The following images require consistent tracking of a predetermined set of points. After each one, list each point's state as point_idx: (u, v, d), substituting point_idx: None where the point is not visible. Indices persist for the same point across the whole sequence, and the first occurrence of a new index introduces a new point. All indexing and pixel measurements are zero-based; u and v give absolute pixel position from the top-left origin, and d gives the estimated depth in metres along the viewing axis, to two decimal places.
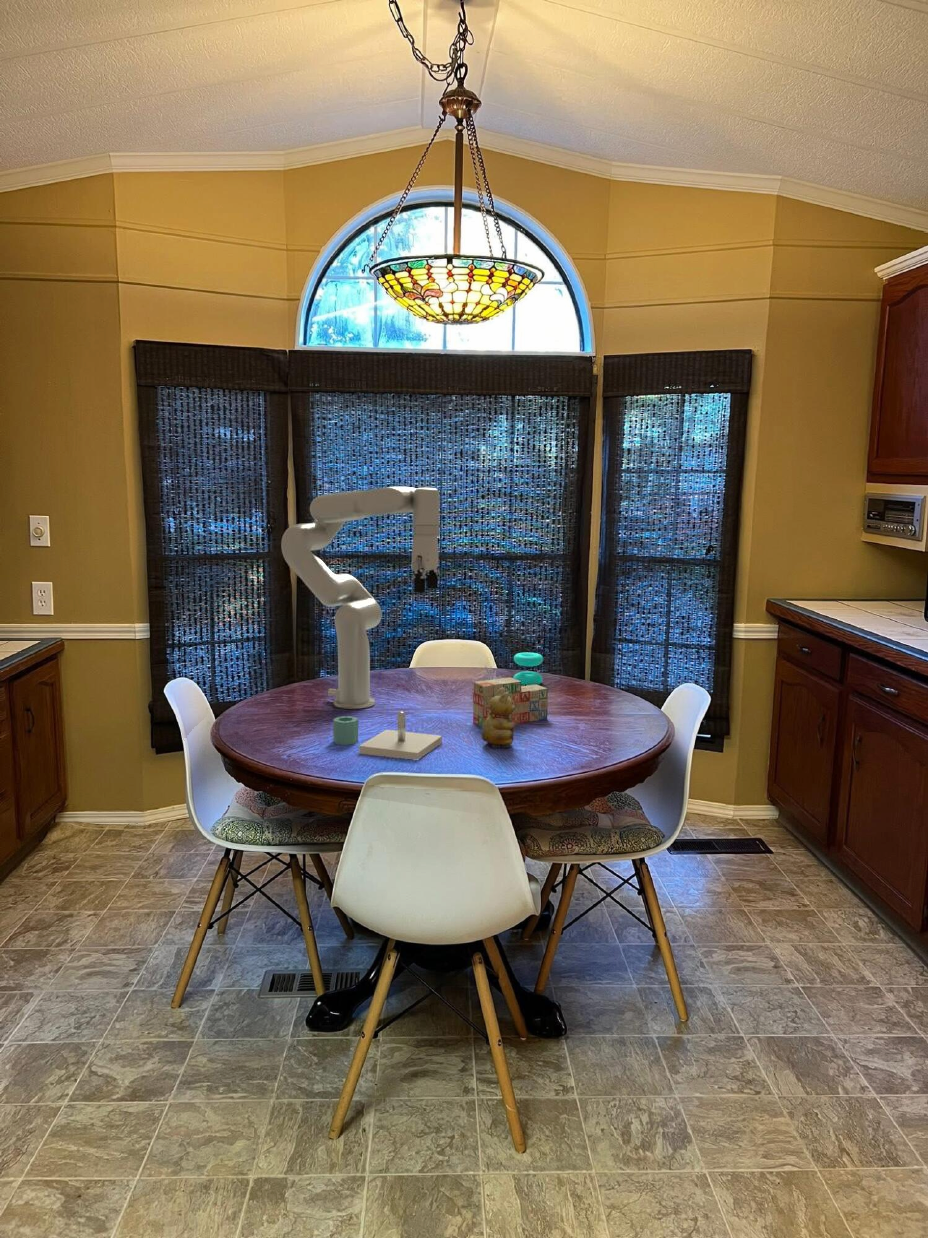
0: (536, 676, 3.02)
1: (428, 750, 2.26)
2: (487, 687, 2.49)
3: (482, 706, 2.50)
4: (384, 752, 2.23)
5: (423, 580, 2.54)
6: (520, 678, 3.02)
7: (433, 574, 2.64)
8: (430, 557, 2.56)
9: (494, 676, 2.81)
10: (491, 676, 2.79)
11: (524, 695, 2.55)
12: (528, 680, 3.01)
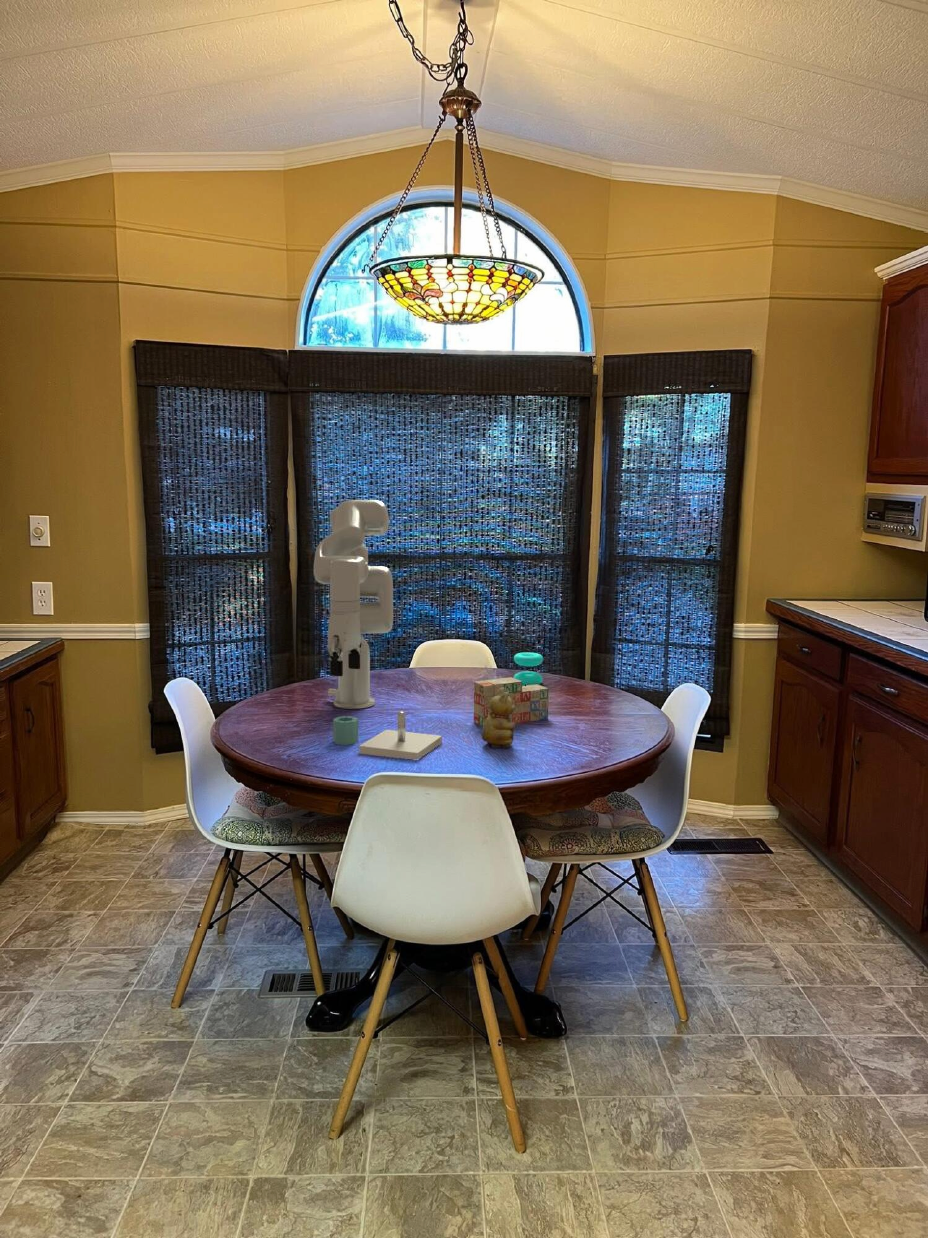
0: (536, 676, 3.02)
1: (428, 750, 2.26)
2: (488, 687, 2.49)
3: (483, 706, 2.50)
4: (384, 752, 2.23)
5: (340, 663, 2.27)
6: (520, 678, 3.02)
7: (355, 653, 2.36)
8: (349, 637, 2.28)
9: (494, 676, 2.81)
10: (491, 676, 2.79)
11: (525, 695, 2.55)
12: (528, 680, 3.01)
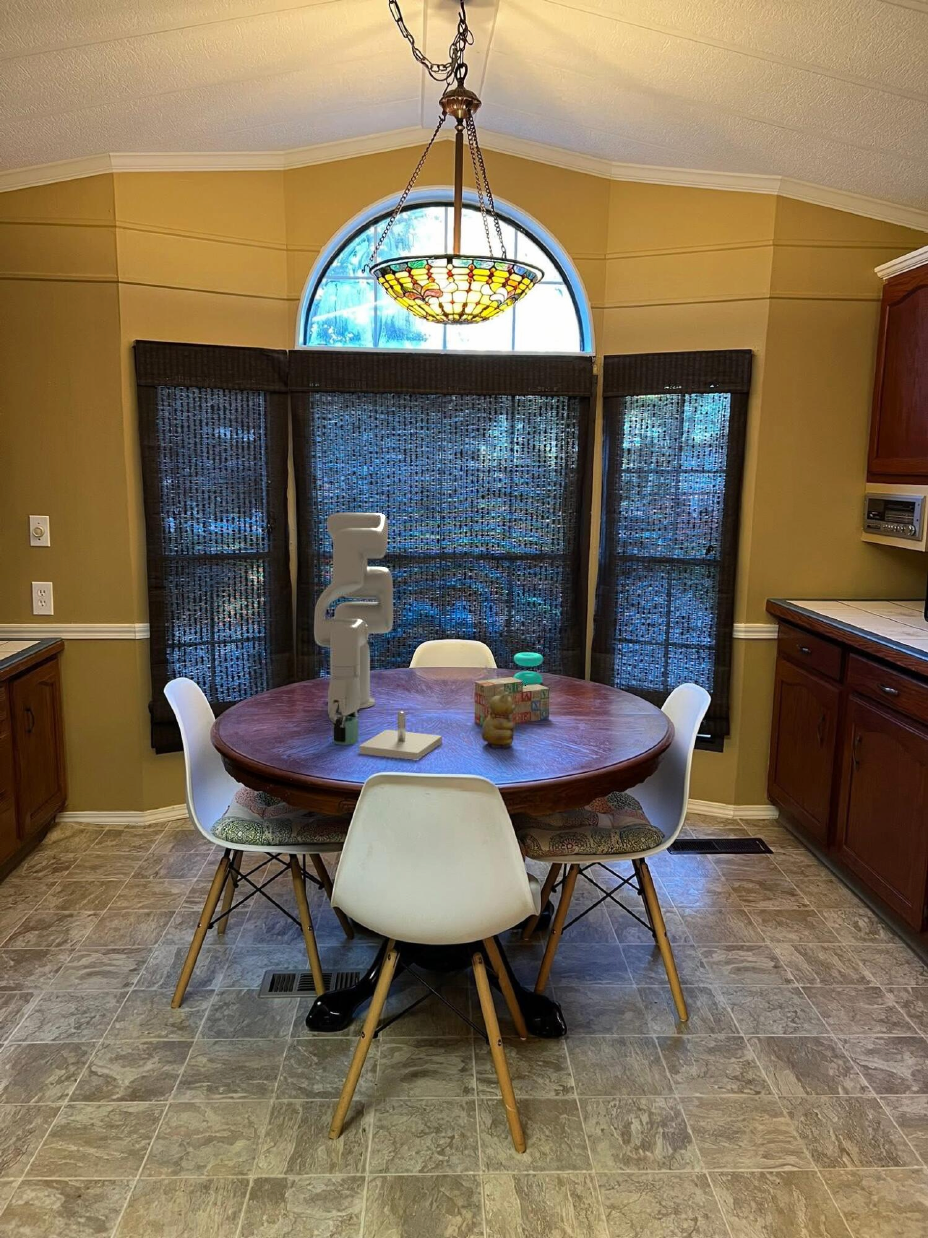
0: (536, 676, 3.02)
1: (428, 750, 2.26)
2: (488, 687, 2.49)
3: (483, 706, 2.50)
4: (384, 752, 2.23)
5: (343, 729, 2.31)
6: (520, 678, 3.02)
7: None
8: (349, 701, 2.31)
9: (494, 676, 2.81)
10: (491, 676, 2.80)
11: (525, 695, 2.55)
12: (528, 680, 3.01)
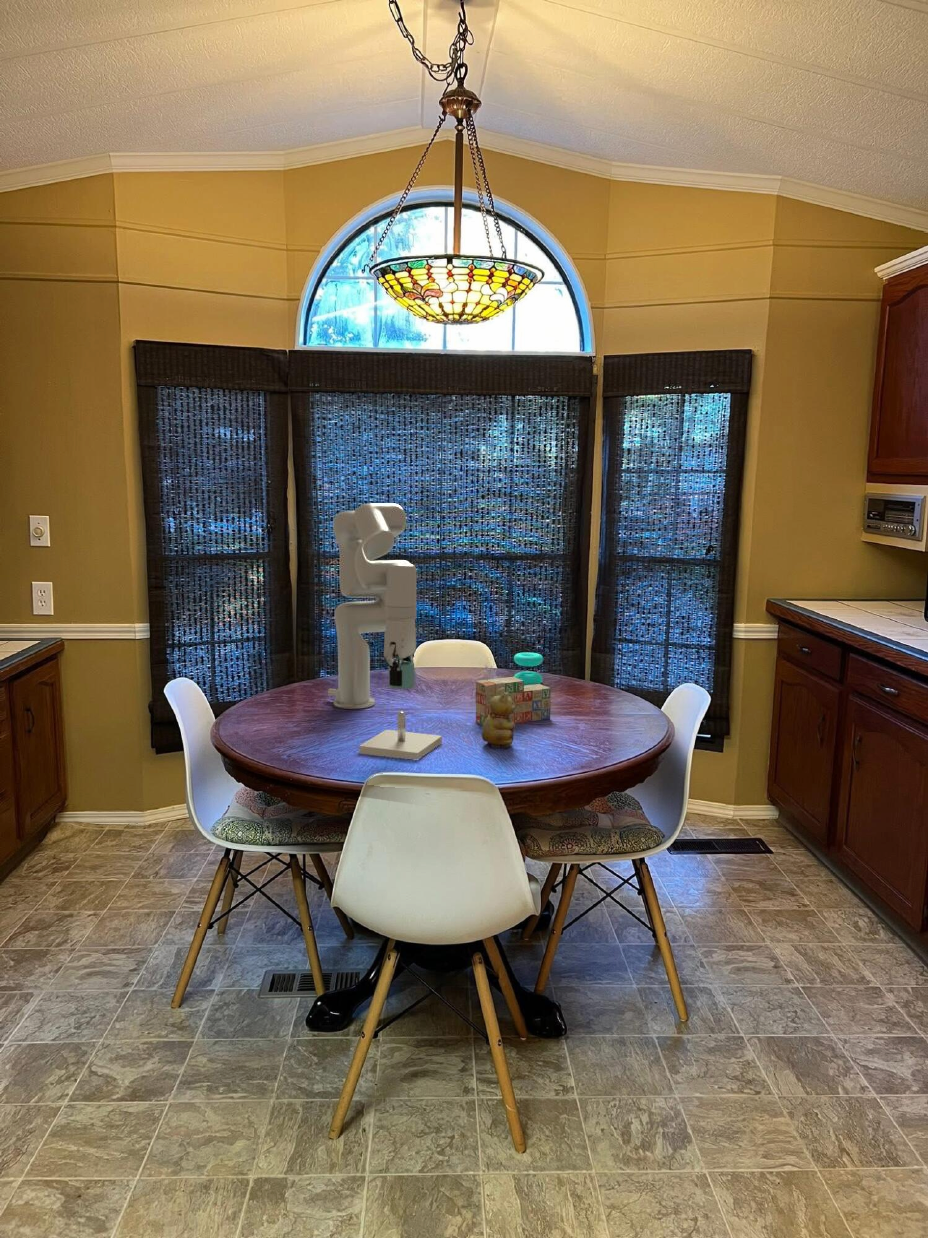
0: (536, 676, 3.02)
1: (428, 750, 2.26)
2: (489, 686, 2.50)
3: (484, 705, 2.51)
4: (384, 752, 2.23)
5: (400, 672, 2.23)
6: (520, 678, 3.02)
7: None
8: (405, 643, 2.23)
9: (494, 676, 2.81)
10: (491, 675, 2.80)
11: (527, 694, 2.56)
12: (528, 680, 3.01)
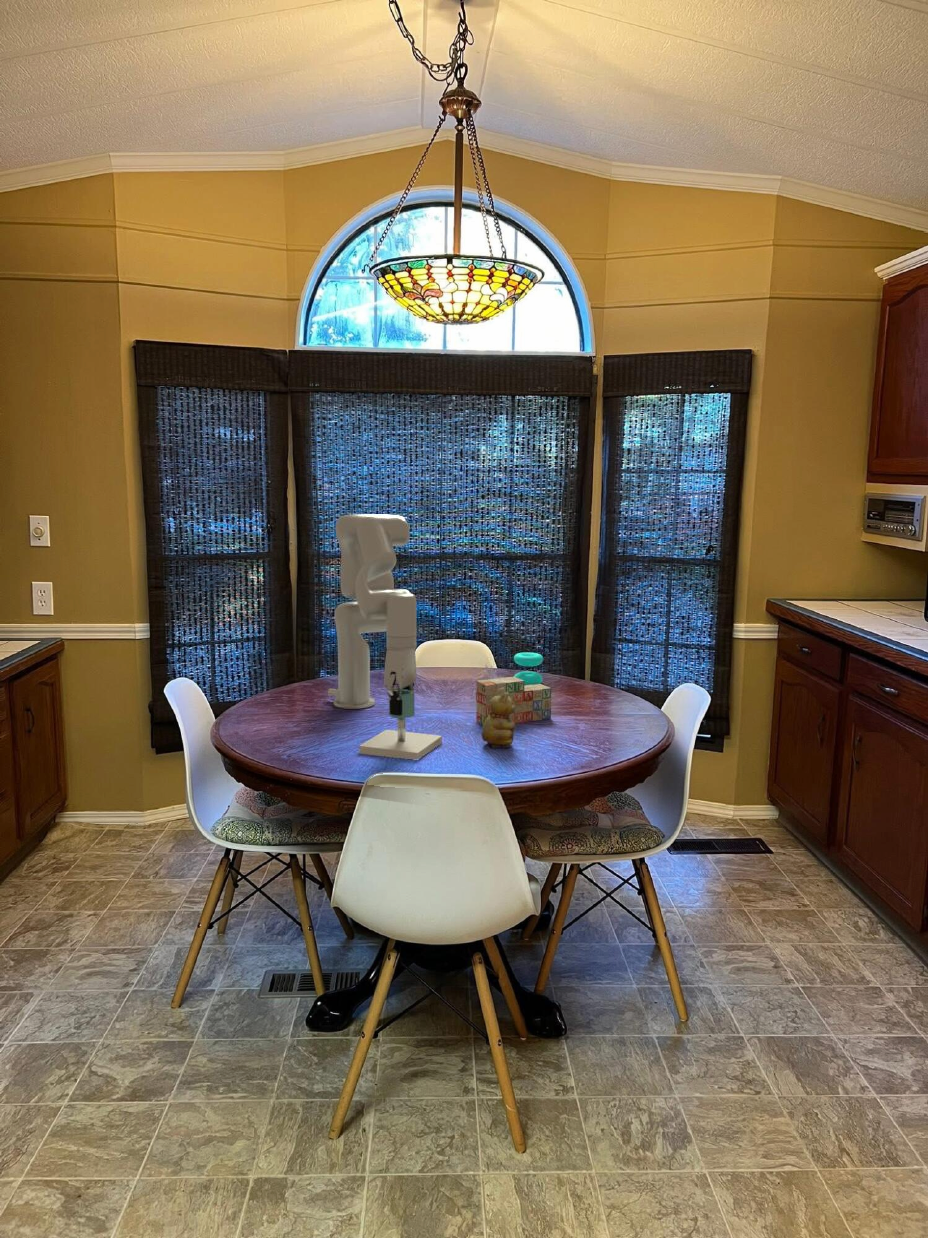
0: (536, 676, 3.02)
1: (428, 750, 2.26)
2: (490, 686, 2.50)
3: (485, 705, 2.51)
4: (384, 752, 2.23)
5: (400, 702, 2.24)
6: (520, 678, 3.02)
7: None
8: (406, 673, 2.24)
9: (494, 675, 2.82)
10: (490, 675, 2.80)
11: (527, 694, 2.56)
12: (528, 680, 3.01)
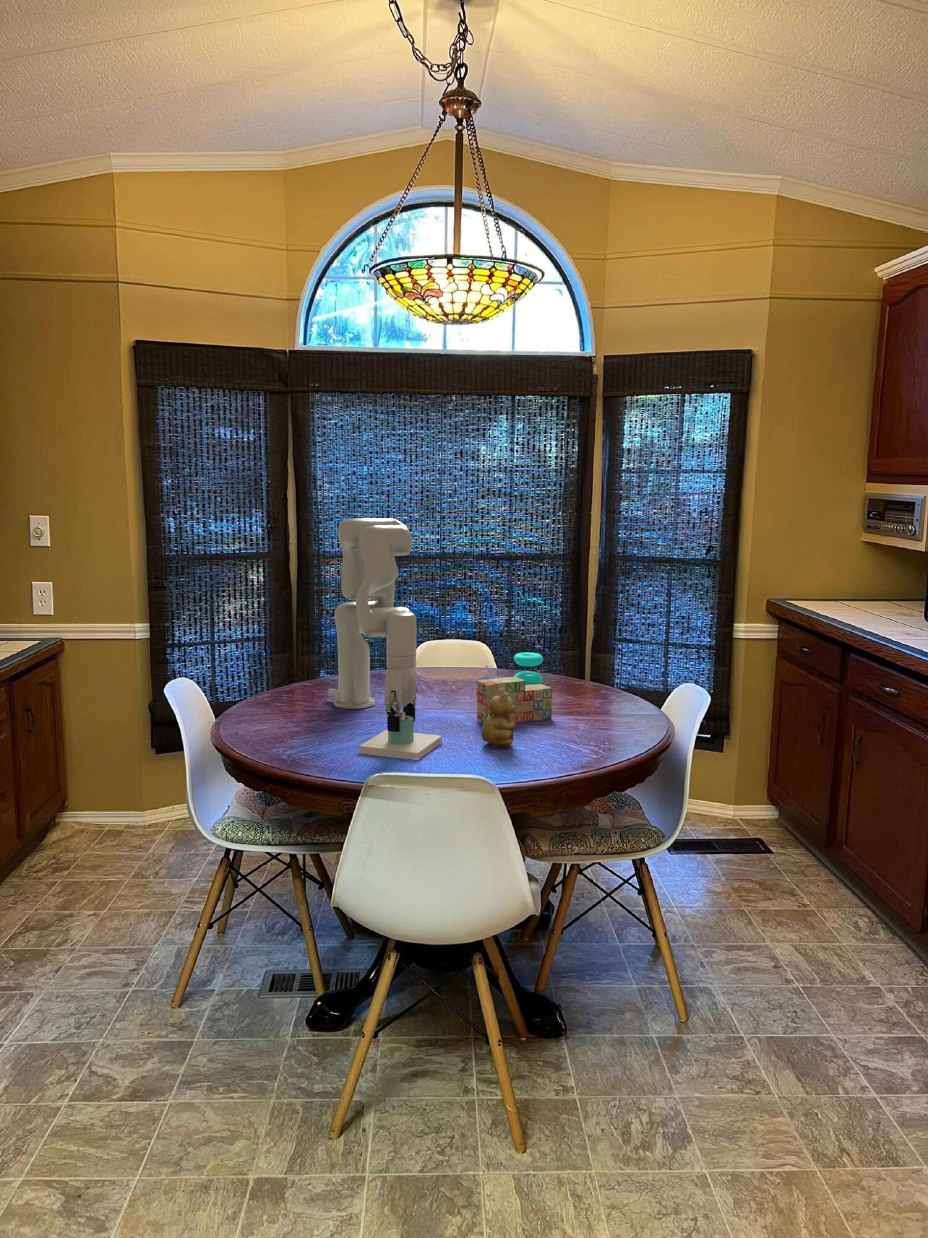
0: (536, 676, 3.02)
1: (428, 750, 2.26)
2: (490, 686, 2.50)
3: (485, 705, 2.51)
4: (384, 752, 2.23)
5: (397, 718, 2.23)
6: (520, 678, 3.02)
7: (410, 706, 2.33)
8: (405, 691, 2.25)
9: (494, 675, 2.82)
10: (490, 675, 2.80)
11: (528, 694, 2.56)
12: (528, 680, 3.01)
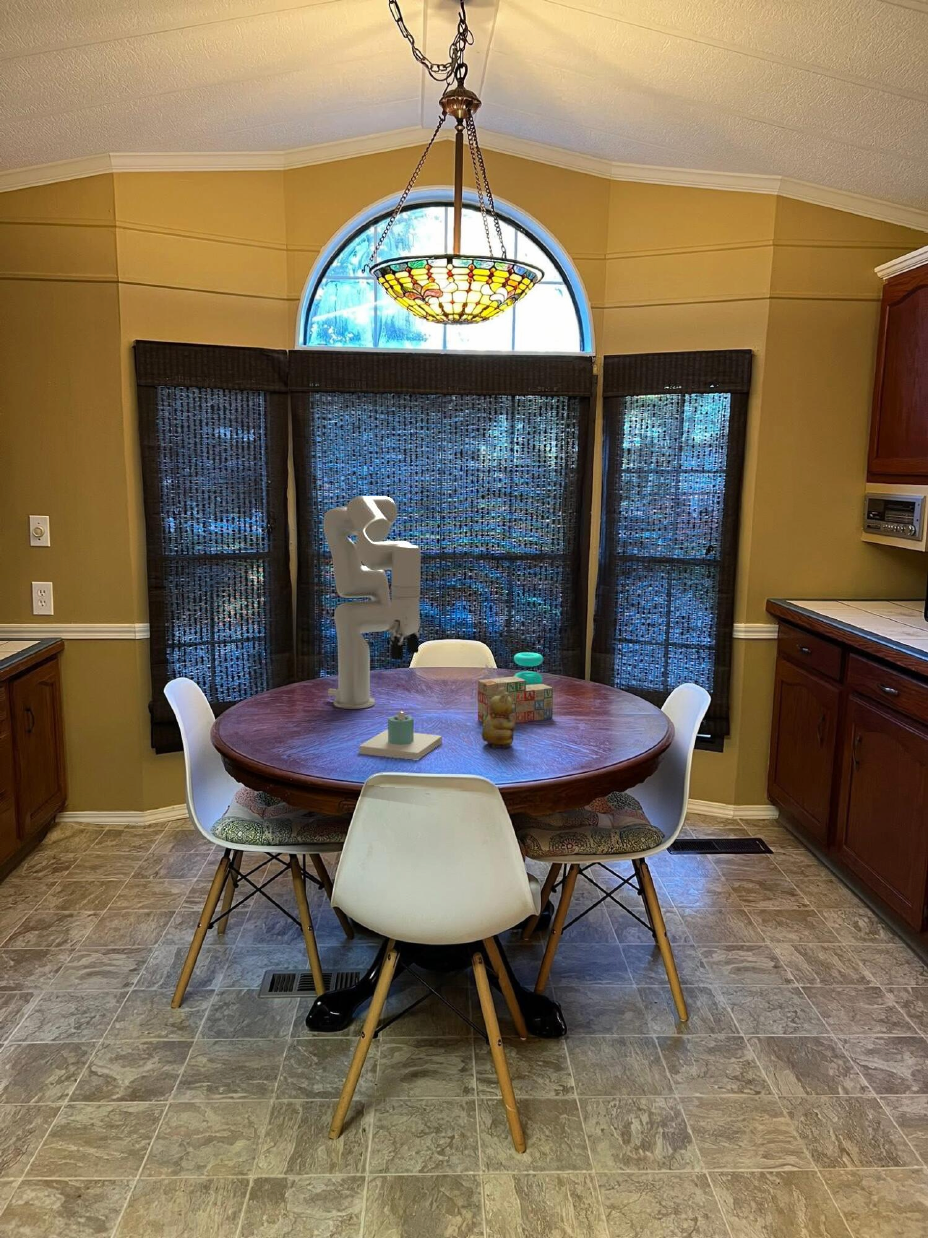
0: (536, 676, 3.02)
1: (428, 750, 2.26)
2: (491, 685, 2.50)
3: (486, 704, 2.51)
4: (384, 752, 2.23)
5: (401, 647, 2.33)
6: None
7: (414, 637, 2.42)
8: (409, 621, 2.33)
9: (494, 675, 2.82)
10: (490, 675, 2.81)
11: (529, 694, 2.56)
12: (528, 680, 3.01)
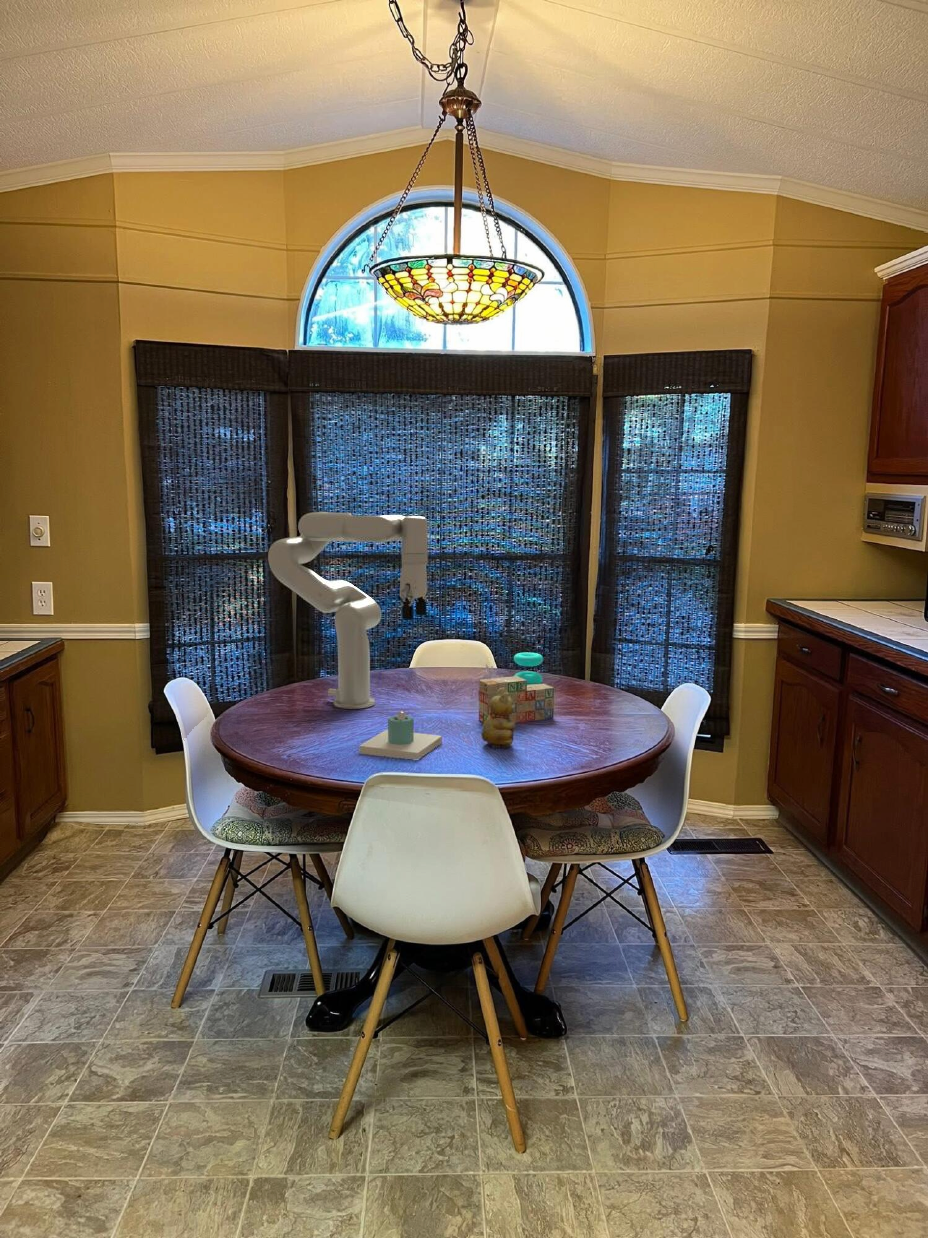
0: (536, 676, 3.02)
1: (428, 750, 2.26)
2: (491, 685, 2.51)
3: (487, 704, 2.52)
4: (384, 752, 2.23)
5: (411, 608, 2.58)
6: None
7: (422, 601, 2.67)
8: (418, 585, 2.59)
9: (494, 675, 2.82)
10: (490, 675, 2.81)
11: (529, 694, 2.56)
12: (528, 680, 3.01)
